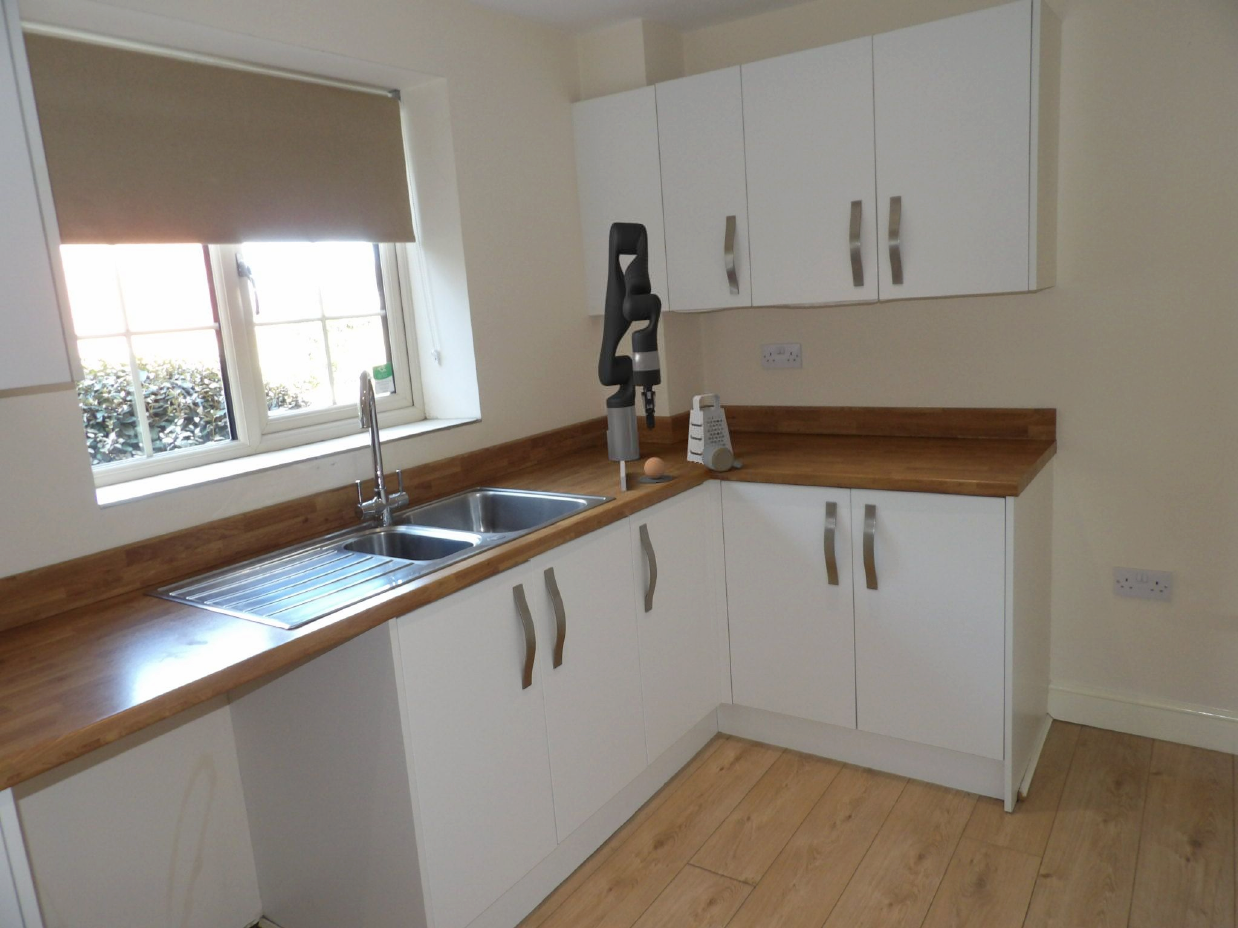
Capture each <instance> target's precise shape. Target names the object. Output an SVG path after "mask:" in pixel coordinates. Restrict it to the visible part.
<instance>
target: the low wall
mask: <svg viewBox="0 0 1238 928" xmlns="http://www.w3.org/2000/svg"><path fill="white" fill-rule="evenodd" d="M619 462H620V463H619V464H620V466H619V467H620V486H621V487H620V488H621V492H627V477H626V464H625V462H626V461H619Z"/></svg>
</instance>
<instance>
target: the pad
mask: <svg viewBox="0 0 1238 928" xmlns="http://www.w3.org/2000/svg"><path fill="white" fill-rule="evenodd" d="M671 479H673V480H674V476H673V475H669V474H668V475H667V474H663V476H661V477H660V478H657V479H652V478H650V477H648V476H647V475H646V476H642V477H639V478H638V479H637V482H638V481H639V482H638V483H640V482H642V484H657V483H656V482H662V483H666V482H665V481H667V482H669V481H668V480H671ZM671 481H672V480H671Z"/></svg>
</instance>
